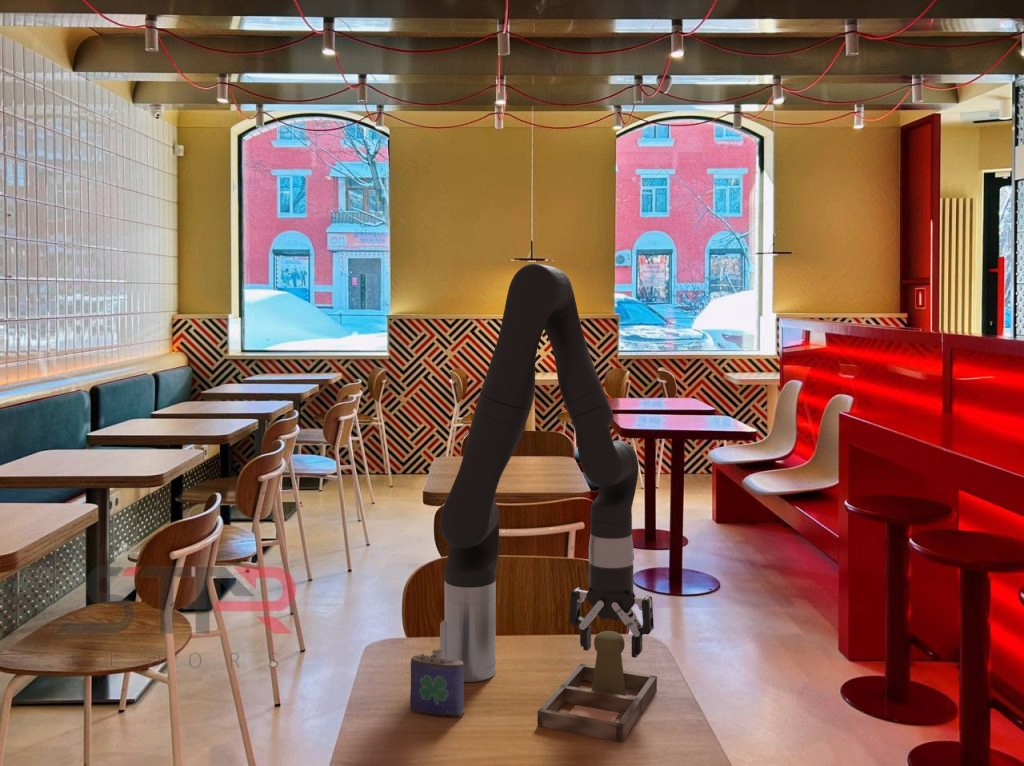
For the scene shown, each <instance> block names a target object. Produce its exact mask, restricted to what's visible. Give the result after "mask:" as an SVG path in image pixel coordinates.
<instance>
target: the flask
mask: <svg viewBox="0 0 1024 766" xmlns="http://www.w3.org/2000/svg"><path fill="white" fill-rule="evenodd" d="M441 652H442V650H440V648H437V649H433V650H431V654H432V655H430V656H429V655H427V654H424V653H421V654H420V655H419V654H418V655H414V656H412V657H411V659H410V697H409V699H410V712H412V713H415V714H418V715H424V716H430V717H438V718H451V719H454V718H456V719H457V718H459V719H460V718H462V717H463V716H464V714H465V699H464V698H465V690H464V689H465V686H464V684H465V682H464V663H463V662H462V661H461V660H449V659H440V658H441V657H440V653H441Z"/></svg>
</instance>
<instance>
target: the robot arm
mask: <svg viewBox="0 0 1024 766" xmlns="http://www.w3.org/2000/svg"><path fill="white" fill-rule="evenodd" d="M575 297H576V296H575V293H574V289H573V286H572V282H571V280H570V278H569V277H568V275H567V274H566V273H565V272H564V271H563V270H561V269H559V268H557V267H555V266H551V265H546V264H541V263H530V264H529V263H528V264H525V265H523V266H522V267H521V268H520V269H518V270H517V271H516V273H515V274H514V275H513V277H512V279H511V282H510V283H509V286H508V290H507V295H506V300H505V305H504V310H503V314H502V315H503V316H502V319H501V325H500V329H499V334H498V337H497V342H496V343H495V347H494V350H493V353H492V355H491V359H490V362H489V365H488V368H487V371H486V375H485V378H484V381H483V384H482V386H481V388H480V393H479V395H478V399H477V402H476V406H475V409H474V412H473V417H472V418H471V419H472V420H471V423H470V427H469V430H468V434H467V437H466V438H467V439H466V441H465V442H466V443H465V447H464V451H463V455H462V458H461V459H462V460H461V463H460V466H459V470H458V472H457V474H456V477H455V480H454V481H453V484H452V486H451V489H450V491H449V493H448V495H447V498H446V500H445V503H444V504H443V506H442V509H441V511H440V516H439V526H440V527H439V529H440V532H441V534H442V536H443V538H444V540H445V541H446V542H447V543H448V544H449V547H448V554H447V558H446V561H445V565H444V572H443V573H444V574H443V575H444V576H443V577H444V581H443V583H444V586H443V587H444V619H443V620H442V621H441V622H440V623H439V649H440V650H442V652H441V653H440V657H441V658H440V659H449V660H461V661H462V662H463V663H464V683H465V682H466V683H473V682H475V683H476V682H482V681H486V680H488V679H490V678H492V677H493V676H494V675H495V674H496V670H497V669H496V663H497V660H496V659H497V658H496V657H497V656H496V654H497V653H496V651H497V650H496V649H497V645H496V642H497V640H496V636H497V634H496V632H497V631H496V628H497V626H496V622H497V621H496V620H497V619H496V618H497V617H496V611H497V609H496V606H497V605H496V600H497V599H496V592H497V591H496V589H497V588H496V585H497V584H496V582H497V578H496V577H497V566H498V561H499V554H500V553H499V552H500V551H499V550H500V549H499V547H500V513H499V511H500V510H499V508H498V505H497V503H496V500H495V497H496V493H497V489H498V487H499V483H500V480H501V477H502V475H503V473H504V470H506V467H507V465H508V463H509V461H510V459H511V458H512V456H513V454H514V452H515V450H516V448H517V446H518V444H519V442H520V440H521V437H522V435H523V433H524V430H525V427H526V425H527V421H528V419H529V415H530V412H531V410H532V406H533V403H534V398H535V390H536V361H537V353H538V348H539V345H540V342H541V339H542V336H543V332H545V334H546V336H547V339H548V340H549V343H550V347H551V351H552V352H553V357H554V362H555V370H556V377H557V382H558V387H559V392H560V395H561V397H562V401H563V403H564V405H565V408H566V410H567V413H568V416H569V418H570V420H571V423H572V425H573V427H574V433H575V440H576V447H577V453H578V458H579V462H580V466H581V469H582V471H583V473H584V475H585V477H586V478H587V479H588V480H589V482H590V483H591V484H593V485H594V486H595V487H598V488H599V490H598V495H596V498H595V499H594V500H593V502H592V503H591V505H590V510H589V516H590V517H589V533H590V534H589V535H590V536H589V543H588V590H583V589H582V588H581V587H575V588H574V589H573V590H572V591H571V592H570V597H569V598H570V599H569V600H570V601H569V615H568V616H569V619H568V620H569V621H568V622H569V624H570V625H571V626H572V625H573V626H574V625H575V626H577V627H578V628H579V643H580V647H582V649H583V651H586V652H587V651H588V652H589V650H590V649H591V647H592V626H591V625H590V624H591V623H592V622H593V620H594V619H595V618H596V617H599V618H600V619H601V620H606V619H609V620H613V621H616V622H617V621H622V623H623V624H624V626H626V627H627V628H628V629H629V630H630V632H631V634H632V636H631V658H633V659H635V658H636V659H637V657H638V656H639V655H641V653H642V651H643V636H644V635H647V636H648V635H650V633H651V632H652V631H653V630H654V628H655V626H654V625H655V623H654V607H653V605H654V603H653V597H652V596H651V595H645V596H636V594H635V591H634V560H635V553H634V542H633V513H632V508H633V503H634V499H635V495H636V489H637V483H638V477H639V460H638V455H637V453H636V451H635V449H634V448H633V447H632V446H631V444H629V443H628V442H626V441H624V440H613V437H612V433H611V430H610V427H611V424H612V423H613V421H614V413H613V409H612V407H611V405H610V402H609V400H608V397H607V394H606V392H605V390H604V387H603V385H602V382H601V380H600V377H599V375H598V372H597V370H596V368H595V364H594V362H593V359H592V356H591V353H590V350H589V347H588V344H587V341H586V338H585V335H584V331H583V327H582V324H581V321H580V316H579V311H578V308H577V303H576V302H577V301H576V298H575ZM585 598H586V601H587V602H588V604H589V606H591V610H589V612H588V613H587V614H586V616H585V617H582V616H581V611H582V603H583V602H584V601H585ZM634 605H636V606H638V609H639V611H641V615H642V616H641V617H642V624H641V622H640V620H638V616H637V614H636V613H635V611H634V610H633V609H632V608H633V607H634Z"/></svg>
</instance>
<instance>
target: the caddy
mask: <svg viewBox="0 0 1024 766" xmlns="http://www.w3.org/2000/svg"><path fill="white" fill-rule="evenodd" d="M594 670H595V665H591V664H586V663H580V664H578V666H576V668H575V669H574V670H573V671H572V672H571V674H570V675H569V676H568V677H566V679H565V680H564V681H563V682H562V683H561V684H560V686H559V687H558V688H557V689H556V690H555V691H554V692H553V693H552V694H551V696H549V697H548V699H547V700H546V701H545V702H544V703H543V704H542V705H541V706H540V708H539V709H538V710H537V725H538V726H537V727H540V726H541V728H546V727H547V728H546V729H551V730H556V731H562V732H566V733H572V734H578V735H581V736H582V735H583V736H587V737H593V738H599V739H602V740H603V739H604V740H608V741H613V742H614V741H615V742H617V743H623V742H624V741H625V739H626V737H627V736H628V734H629V733H630V732H631V730H632V728H633V727H634V725H635V724H636V722H637V721H638V719H639V718H640V716H641V715H642V713H643V711H644V710H645V709H646V707H647V706H648V704H649V703H650V701H651V699H652V698H653V696H654V695H655V693H656V692H657V690H658V686H657V685H658V676H657V675H652V674H646V673H640V672H634V671H627V670H623V674H624V682H625V688H628V689H629V688H630V689H634V690H640V691H639V692H638V694H637V695H636V696H635V697H634V696H628V695H626V696H623V695H618V694H612V693H606V692H600V691H594V690H592V689H589V688H588V689H587V688H581V687H579V686H580V685H581V684H582V683H583V682H584V681H586V680H588V681H587V682H592V681H593V677H594ZM582 681H583V682H582ZM581 682H582V683H581ZM580 683H581V684H580ZM564 702H565V703H566V702H568V703H567V704H572V703H573V705H575V706H573V708H572V709H571V710H570V711H569V713H567V712H561V711H559V709H560V708H561V707H562V706H563V705H564V704H565V703H564ZM563 703H564V704H563ZM562 704H563V705H562ZM588 706H589V707H588ZM594 707H595V708H594ZM599 708H600V709H599ZM557 710H558V711H557ZM620 714H623V715H622V717H621V718H619V719H620V720H619V721H618V722H615V721H616V720H617V718H618V717H619V716H620Z"/></svg>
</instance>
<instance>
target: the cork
mask: <svg viewBox="0 0 1024 766" xmlns="http://www.w3.org/2000/svg"><path fill="white" fill-rule="evenodd" d="M625 643H626V642H625V639H624V637H623V635H622V634H620V633H619V632H618V631H611V630H606V631H605V630H604V631H600V632H599V633H597V634H596V635H595V636H594V639H593V645H594V649H595V651H596V659H595V663H594V664H595V665H594V666H595V670H594V677H593V682H592V685H591V690H594V691H600V692H606V693H612V694H618V695H623V696H627V691H626V687H625V682H624V674H623V671H624V667H623V658H622V652H623V651H624V650H625Z"/></svg>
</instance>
